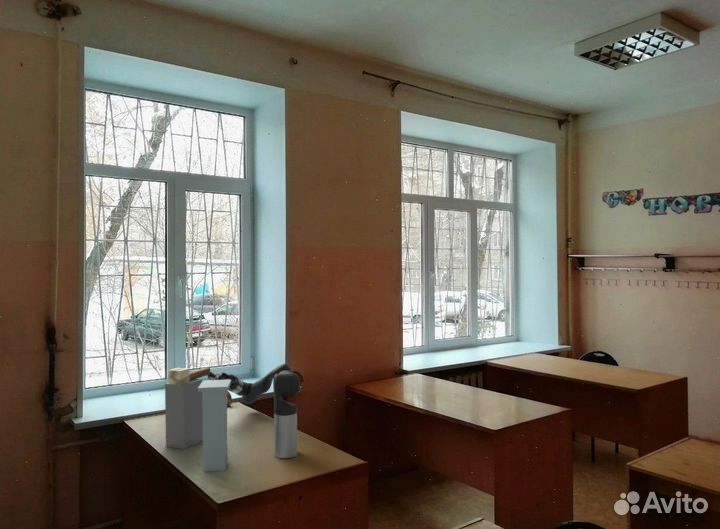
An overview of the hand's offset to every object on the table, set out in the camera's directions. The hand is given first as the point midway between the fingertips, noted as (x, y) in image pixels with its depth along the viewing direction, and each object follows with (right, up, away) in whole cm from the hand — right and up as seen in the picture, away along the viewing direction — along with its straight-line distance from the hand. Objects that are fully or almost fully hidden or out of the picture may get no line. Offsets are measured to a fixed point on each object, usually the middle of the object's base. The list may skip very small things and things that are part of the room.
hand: (214, 373), depth 250 cm
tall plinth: (+13, -27, -45) cm, 53 cm away
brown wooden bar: (-6, +1, -14) cm, 15 cm away
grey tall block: (-8, -26, -19) cm, 34 cm away
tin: (-7, -26, +40) cm, 49 cm away
